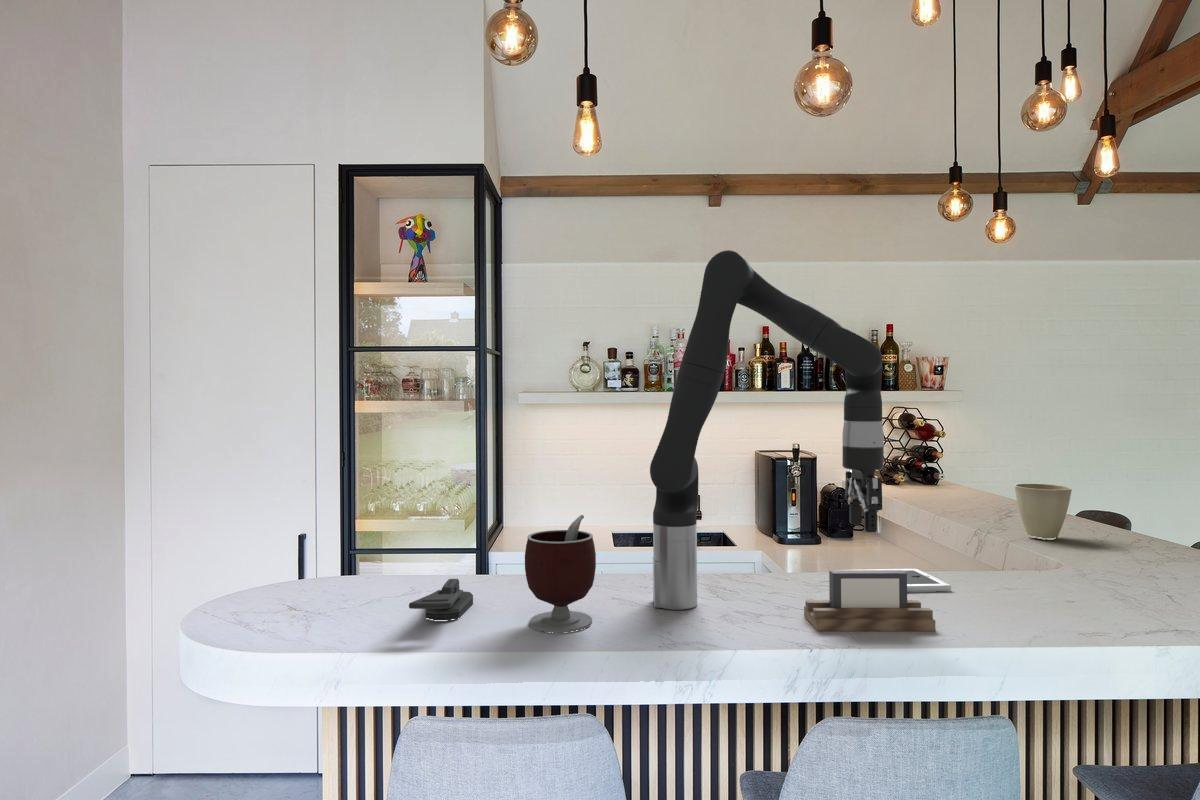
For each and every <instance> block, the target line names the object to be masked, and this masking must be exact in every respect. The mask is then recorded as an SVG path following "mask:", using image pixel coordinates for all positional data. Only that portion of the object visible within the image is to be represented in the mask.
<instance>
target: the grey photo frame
mask: <svg viewBox="0 0 1200 800" xmlns="http://www.w3.org/2000/svg"><path fill="white" fill-rule="evenodd" d="M828 571H829V573H828V577H829V580H828V581H829V583H828V585H829V600H830V608H907V600H908V592H907V573H906V572H904V571H902V570H872V569H836V570H835V569H829V570H828Z"/></svg>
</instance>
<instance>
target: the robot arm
mask: <svg viewBox="0 0 1200 800" xmlns="http://www.w3.org/2000/svg"><path fill="white" fill-rule="evenodd" d="M699 296H700V297H699V301H698V306H697V312H696V315H695V318H694V320H693V321H694V322H693V324H692V327H691V330H690V333H689V336H688V338H687V339H688V340H687V342H686V346H685V349H684V352H683V355H682V359H681V362H680V365H679V368H678V372H677V376H676V379H675V382H674V383H675V384H674V388H673V392H672V396H671V400H670V404H669V410H668V414H667V420H666V422H665V427H664V429H663V432H662V435H661V438H660V440H659V443H658V445H657V447H656V449H655V452H654V454H653V457H652V459H651V462H650V465H649V475H650V479H651V481H652V484H653V485H654V486H655V489H656V493H655V501H654V502H655V504H654V507H653V512H652V529H653V530H652V534H653V535H652V537H653V538H652V540H653V541H652V542H653V543H652V545H653V546H652V547H653V550H652V551H653V556H652V601H653V606H654V608H656V609H657V608H658V609H659V608H660V609H665V610H674V611H675V610H679V611H680V610H689V609H693V608H695V607H697V605H698V545H697V544H698V538H697V536H698V535H697V533H698V532H697V531H698V530H697V528H698V527H697V526H698V525H697V524H698V523H697V521H698V520H697V516H698V515H697V514H698V509H699V466H698V465H699V464H698V461H697V459H696V456H695V455H696V450H697V446H698V442H699V438H700V434H701V432H702V429H703V426H704V425H705V423H706V420H707V419H708V417H709V416H710V413H711V411H712V409H713V407H714V405H715V402H716V401H717V400H716V399H717V397H718V395H719V392H720V389H721V386H722V383H723V382H722V381H723V379H724V376H725V375H724V374H725V371H726V368H727V362H728V356H729V345H730V343H729V342H730V329H731V324H732V319H733V316H734V313H735V309H736V307H737V304H738V305H741V306H743V307H745V308H747V309H750V310H751V311H752V312H755V313H757V314H759V315H761V316H763V318H765V319H767V320H768V321H770V322H772V323H773V324H774V325H776V326H777V327H778V328H780V329H781V330H782V331H783V332H785V333H786V334H789V336H791V337H792V338H794V339H796V340H797V341H798V342H800V343H802V344H803V345H805V346H806V347H808V348H810V349H811V350H812V351H814V352H815V353H818V354H821V355H823V356H824V357H826V358H827V359H828V360H830V361H831V362H833V363H835V364H836V365H837V366H839V367H840V368H841V369H843V370H845V371H844V373H845V375H844V376H845V395H844V400H843V426H842V439H841V440H842V442H841V443H842V448H841V449H842V468H844V469H845V470H846V471H845V474H844V475H845V484H844V485H845V489H844V490H845V491H844V492H845V493H844V499H845V501H847V503H848V504H847V505H849V523H850V524H851V525H861V524H863V531H864V532H866V533H876V532H877V531H878V513H879V511H883V479H882V478H881V477H876V476H875V471H881V470H882V469H884V463H885V462H884V461H885V460H884V455H885V453H884V452H885V450H884V447H885V446H884V441H885V439H884V436H885V435H884V433H885V432H884V427H883V400H882V391H881V390H882V378H883V377H882V376H883V355H882V351H881V349H880V348H879V347H878V346H877V345H876V344H874V343H873V342H872V341H870V340H868V339H867V338H865V337H862V336H861V335H859V334H857V333H855V332H853V331H851V330H849V329H847V328H846V327H844V326H842V325H841V324H840V323H839V322H837V321H836V320H834V319H832V318H831V317H829V316H828V315H826V313H823V312H821V311H820V310H819V309H816V308H815V307H813V306H812V305H810V304H807V303H806V302H804V301H801V300H800V299H797V298H795V297H793V296H791V295H789V294H787V293H785V292H783V291H782V290H780V289H778V288H777V287H775V286H774V285H773V284H771V283H769V282H768V281H767V280H766V279H765V278H763V277H762V275H760V274H759V273H758V272H757V271H756V270H755V269H754V268H752V265H751V264H750V263H749V261H748V260H747V259H746V258H745V257H744V256H743V255H742V254H740V253H739V252H737V251H734V250H730V249H729V250H728V249H727V250H726V249H725V250H721V251H719V252H717V253H716V254H714V255H713V256H712V257H711V258H710V259H709V261H708V263H707V264H706V266H705V269H704V273H703V278H702V284H701V291H700V295H699Z"/></svg>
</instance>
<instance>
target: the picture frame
mask: <svg viewBox="0 0 1200 800" xmlns="http://www.w3.org/2000/svg"><path fill="white" fill-rule="evenodd" d="M871 570H902V571H904V572H906V573H907V593H932V592H933V593H934V592H935V593H936V591H947V592H952V585H951V584H949V583H947V582H946V581H945V582H944V580H941V579H939V578H937V577H935V576H933V575H930V574H929V573H926V572H925V571H922V570H920V569H918V568H883V569H881V568H880V569H879V568H878V569H877V568H876V569H871Z"/></svg>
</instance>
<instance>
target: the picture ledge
mask: <svg viewBox="0 0 1200 800" xmlns="http://www.w3.org/2000/svg"><path fill="white" fill-rule="evenodd" d="M804 602H805V606H803V616H805V617H806V618H805V617H804V618H805V619H806V621H808V623H809V622H810V623H811V624H812V625H811V624H810V623H809V624H810V625H811V627H812V628H813V629H816V630H815V631H816V632H936V619H934V618H933V617H934V615H933V613H934V612H933V609H931V608H930V607H922V602H921V601H919V600H916V599H913V600H912V599H909V600H908V599H907V608H830V599H829V600H826V599H825V600H820V599H819V600H816V599H815V600H814V599H813V600H811V599H809V600H806V599H805V601H804Z"/></svg>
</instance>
